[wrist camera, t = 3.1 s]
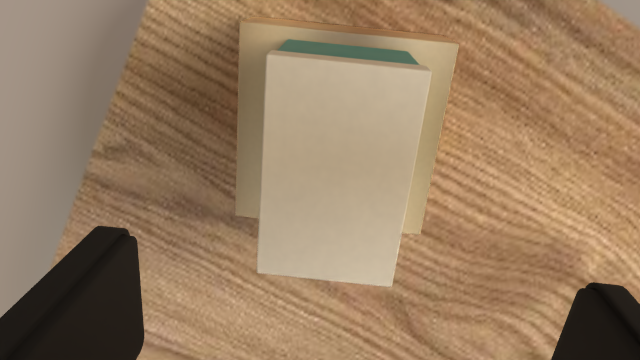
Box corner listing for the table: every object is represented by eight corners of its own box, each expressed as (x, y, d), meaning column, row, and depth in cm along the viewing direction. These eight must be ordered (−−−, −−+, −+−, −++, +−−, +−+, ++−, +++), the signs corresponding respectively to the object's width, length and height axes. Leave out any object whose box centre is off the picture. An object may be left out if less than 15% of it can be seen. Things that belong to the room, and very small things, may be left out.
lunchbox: (382, 224, 22) (392, 288, 18) (274, 213, 22) (256, 273, 18) (411, 48, 19) (432, 71, 14) (285, 36, 19) (265, 54, 14)
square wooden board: (246, 190, 25) (234, 216, 22) (252, 15, 22) (238, 21, 19) (412, 207, 25) (420, 235, 22) (445, 35, 21) (459, 43, 19)
